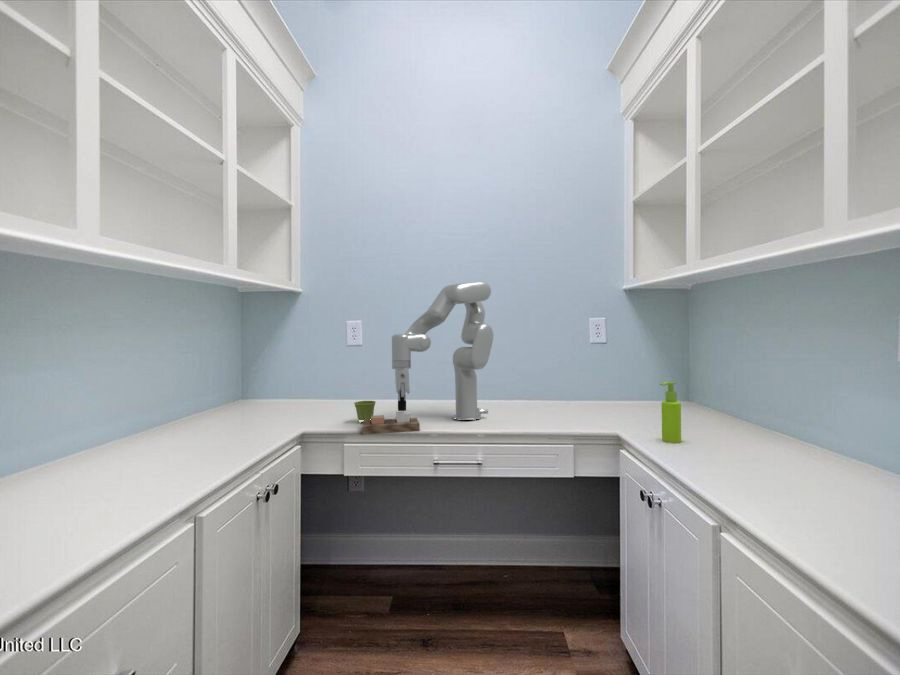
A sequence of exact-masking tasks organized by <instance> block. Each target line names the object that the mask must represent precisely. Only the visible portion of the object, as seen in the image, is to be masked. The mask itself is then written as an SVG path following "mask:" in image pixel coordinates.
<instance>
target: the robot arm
mask: <svg viewBox="0 0 900 675" xmlns="http://www.w3.org/2000/svg"><path fill="white" fill-rule="evenodd" d="M491 294H492V288H491V286H490V284H489V283H488V282H486V281H484V280H483V281H475V282H466V283H465V282H464V283H463V282H462V283H454V284H447V285H446V286H444V287H443V288H442V289H441V290H440V292H439V293H438V294H437V296H436V297H435V299H434V300H433V301H432V303H431V305H430V306H429V307H428V309H427V310H426V311H425V312H424V313H423V314H422V315H420V316H419V317H417V319H416V320H414V322H413V323H412V324H411V325H410V326H409V327H408V329H407V330H406V332H405V333H399V334H397V333H395V334H393V335H392V336H391V369H393V370H394V377H395V381H394V383H395V390H396V391H395V392H396V393H397V410H398V411H397V412H401V411H407V400H406V398H407V397H406V395H407V394H408V395H409V394H410V373H409V372H410V370H409V369H411V368H412V362H411V361H412V360H411V359H412V356H411V355H412V354H411V352H416V353H424V352H426V351H428V350H429V349H430V347H431V344H432V343H431V342H432V341H431V338H430V337H429V336H428V335H427V333H428V332H430V330H432V329H434V328H436V327H439V326H440V325H441V324H443V323H444V322H445V321H446V319H447V318H448V316H449V315H450V314H451V312H452V310H453V309H454V308H455V306H456V305H461V304H463V305H464V306H465V319H464V321H463V325H462V330H461V336H460V338H461V341H462V342H463V343H464V344H466V345H472V346H461V347H458V348H456V349H455V350H454V352H453V353H452V354H453V355H452V366H453V369H454V384H455V386H454V388H455V389H454V390H455V414H453V415H452V417H453V418H456V419H460V420H473V421H477V420H476V419H479V420H481V419H480V418H482V414H483V415H486V414H489V409H488V408H487V409H486V408H479V407H478V381H477V380H478V379H477V373H476V370H482V369H484V368H485V367H486V366H487V365H488V362H489V358H490V354H491V350H492V346H493V342H494V331H493V328H492V327H491V325H490V324H489V323H485V317H486V311H485V307H484V304H483V302H486V301H487V300H488V299H489V298H490V296H491ZM406 393H407V394H406ZM453 418H452V419H453Z"/></svg>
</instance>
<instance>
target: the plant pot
mask: <svg viewBox="0 0 900 675" xmlns="http://www.w3.org/2000/svg"><path fill="white" fill-rule="evenodd" d="M376 403H377V401H376V400H359V401H355V402H353V404H354V407H355V410H356V416H357V420H358V419H359V420H370V419H371V416H374V412H375V406H376Z"/></svg>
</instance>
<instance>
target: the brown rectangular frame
mask: <svg viewBox="0 0 900 675" xmlns="http://www.w3.org/2000/svg"><path fill="white" fill-rule="evenodd" d="M361 424H362V427H361V428H362V430H361V431H362V435H372V434H390V433H393V434H394V433H407V432H420V431H421V430H420V429H421V428H420V426H421V424H420V422H419V420H418V418H417V417H410V422H406V423H397V422H396V418H384V424H371V420H364V421H363V423H361Z"/></svg>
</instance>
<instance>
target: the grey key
mask: <svg viewBox="0 0 900 675" xmlns="http://www.w3.org/2000/svg"><path fill="white" fill-rule="evenodd" d="M395 412H396V413H395V415H396V418H395V419H396V422H397V423H406V422H410V418H411V416H410V414H411V413H410V411H408V410H406V411H395Z"/></svg>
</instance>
